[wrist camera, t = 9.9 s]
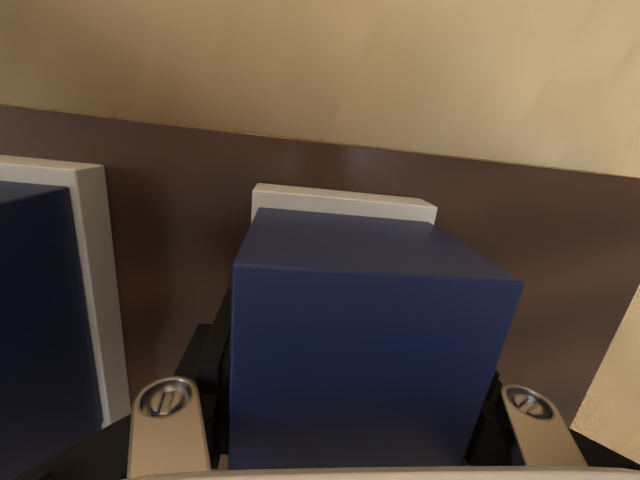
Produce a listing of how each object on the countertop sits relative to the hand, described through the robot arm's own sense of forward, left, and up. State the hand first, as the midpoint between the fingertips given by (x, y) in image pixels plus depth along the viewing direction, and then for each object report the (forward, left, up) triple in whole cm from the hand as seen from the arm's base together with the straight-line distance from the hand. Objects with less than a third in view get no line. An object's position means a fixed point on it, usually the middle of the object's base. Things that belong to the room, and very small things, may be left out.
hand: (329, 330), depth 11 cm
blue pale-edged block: (+1, 0, -1) cm, 2 cm away
